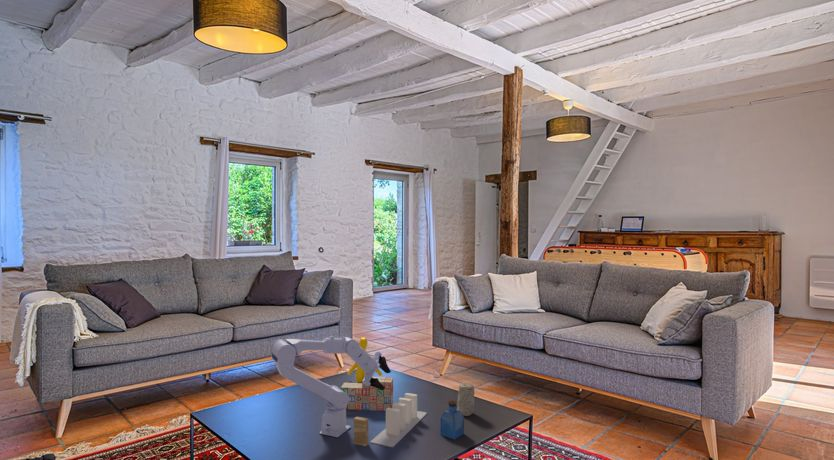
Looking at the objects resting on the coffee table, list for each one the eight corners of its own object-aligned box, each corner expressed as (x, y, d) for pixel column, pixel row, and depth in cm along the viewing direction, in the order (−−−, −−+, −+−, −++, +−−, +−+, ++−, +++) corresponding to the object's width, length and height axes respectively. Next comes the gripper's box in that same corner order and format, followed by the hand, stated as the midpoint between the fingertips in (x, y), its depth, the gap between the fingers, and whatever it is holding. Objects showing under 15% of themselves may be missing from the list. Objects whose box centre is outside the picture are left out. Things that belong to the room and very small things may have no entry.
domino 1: (397, 435, 174) (397, 411, 174) (385, 433, 176) (385, 409, 176) (399, 433, 176) (399, 409, 176) (387, 431, 178) (387, 407, 178)
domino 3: (409, 424, 184) (409, 400, 184) (398, 422, 186) (398, 399, 186) (411, 422, 186) (411, 399, 186) (400, 420, 188) (400, 397, 188)
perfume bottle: (450, 429, 181) (450, 397, 181) (463, 433, 177) (464, 401, 177) (440, 434, 176) (440, 402, 176) (454, 439, 172) (454, 406, 172)
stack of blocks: (340, 409, 200) (340, 380, 199) (344, 403, 206) (344, 375, 206) (391, 411, 197) (391, 381, 197) (393, 405, 204) (393, 377, 203)
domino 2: (403, 429, 179) (403, 406, 179) (392, 427, 181) (392, 404, 181) (405, 427, 181) (405, 404, 181) (394, 425, 183) (394, 402, 183)
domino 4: (415, 418, 189) (415, 396, 189) (404, 416, 191) (404, 394, 191) (417, 416, 191) (417, 394, 191) (406, 415, 193) (406, 392, 193)
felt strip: (392, 447, 166) (392, 446, 166) (370, 442, 169) (370, 441, 169) (427, 413, 195) (427, 412, 195) (407, 409, 199) (407, 409, 199)
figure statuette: (383, 379, 236) (383, 335, 236) (380, 385, 229) (380, 339, 228) (347, 378, 238) (347, 334, 237) (344, 384, 230) (344, 338, 230)
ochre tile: (365, 446, 167) (365, 420, 167) (353, 443, 169) (353, 418, 169) (368, 444, 168) (368, 418, 168) (356, 441, 170) (356, 416, 170)
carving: (466, 418, 190) (467, 388, 190) (453, 412, 196) (453, 383, 196) (477, 414, 194) (478, 385, 194) (464, 408, 200) (464, 380, 200)
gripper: (365, 374, 178) (387, 395, 183) (377, 343, 188) (398, 363, 194) (352, 377, 182) (374, 397, 187) (365, 346, 192) (386, 366, 198)
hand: (386, 380), depth 191 cm, fingers open, 7 cm apart
